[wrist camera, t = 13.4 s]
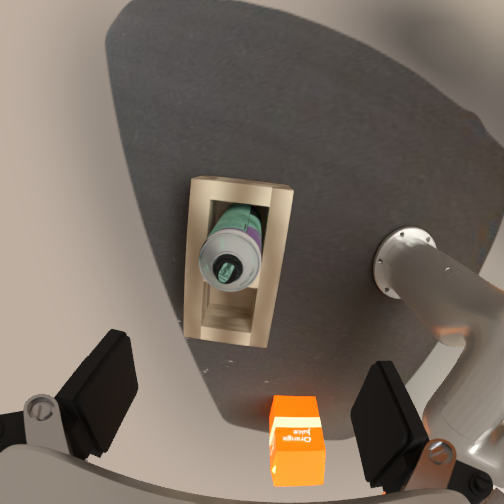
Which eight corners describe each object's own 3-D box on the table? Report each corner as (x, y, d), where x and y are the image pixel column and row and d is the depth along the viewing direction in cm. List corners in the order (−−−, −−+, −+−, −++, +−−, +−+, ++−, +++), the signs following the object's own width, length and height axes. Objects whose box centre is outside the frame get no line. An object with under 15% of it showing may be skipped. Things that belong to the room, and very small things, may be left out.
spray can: (223, 239, 42) (194, 305, 23) (221, 202, 40) (187, 241, 21) (261, 238, 42) (262, 305, 23) (260, 200, 40) (260, 239, 21)
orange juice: (307, 418, 55) (317, 492, 36) (268, 417, 55) (269, 493, 36) (315, 395, 53) (330, 475, 34) (273, 394, 53) (276, 477, 34)
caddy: (287, 185, 40) (293, 190, 32) (265, 319, 47) (266, 347, 39) (204, 175, 40) (191, 178, 32) (194, 309, 47) (183, 336, 39)
